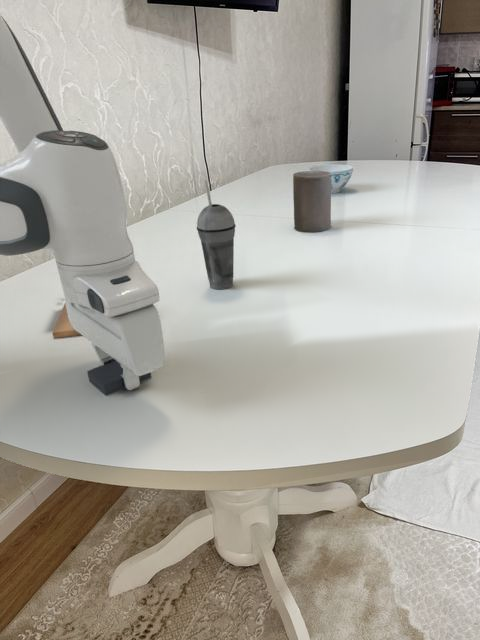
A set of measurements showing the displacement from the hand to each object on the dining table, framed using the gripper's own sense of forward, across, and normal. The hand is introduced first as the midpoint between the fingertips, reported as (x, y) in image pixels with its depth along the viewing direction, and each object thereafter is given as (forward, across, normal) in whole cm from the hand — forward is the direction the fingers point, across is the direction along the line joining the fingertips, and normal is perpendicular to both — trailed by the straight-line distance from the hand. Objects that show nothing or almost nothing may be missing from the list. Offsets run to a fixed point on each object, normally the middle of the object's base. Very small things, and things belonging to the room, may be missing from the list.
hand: (120, 377), depth 69 cm
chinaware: (+2, -68, +112) cm, 131 cm away
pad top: (+2, 0, 0) cm, 2 cm away
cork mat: (+2, -25, +9) cm, 27 cm away
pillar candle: (+2, -39, +74) cm, 84 cm away
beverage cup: (+2, -22, +32) cm, 39 cm away
